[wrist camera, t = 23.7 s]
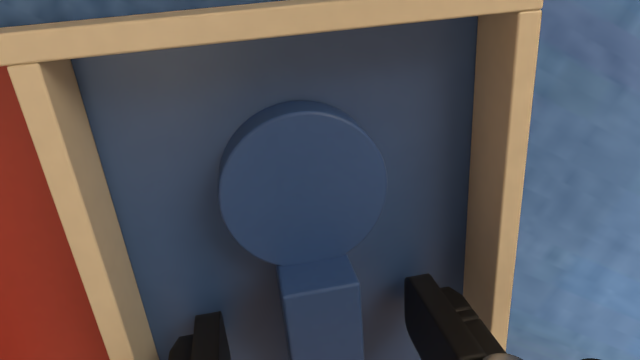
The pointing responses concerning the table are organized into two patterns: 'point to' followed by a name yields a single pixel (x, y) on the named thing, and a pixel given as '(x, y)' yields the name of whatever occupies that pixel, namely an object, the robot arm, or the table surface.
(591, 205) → the table surface
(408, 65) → the sorting tray
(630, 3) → the table surface
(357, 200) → the blue spoon
